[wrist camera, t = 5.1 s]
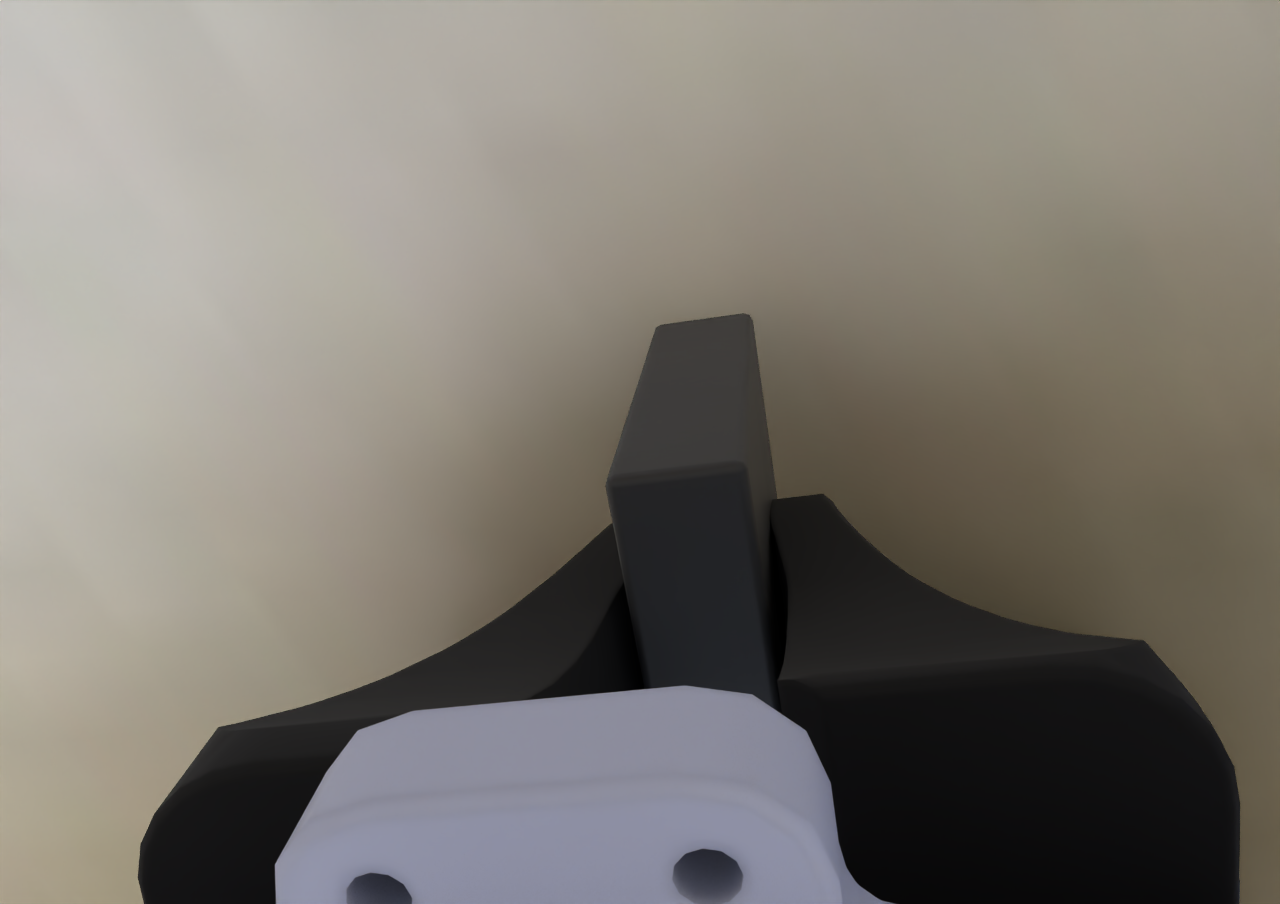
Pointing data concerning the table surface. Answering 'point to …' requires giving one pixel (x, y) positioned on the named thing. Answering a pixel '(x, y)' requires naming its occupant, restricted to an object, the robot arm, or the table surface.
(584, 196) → the table surface
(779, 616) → the storage box
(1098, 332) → the table surface
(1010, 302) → the table surface
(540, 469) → the table surface
